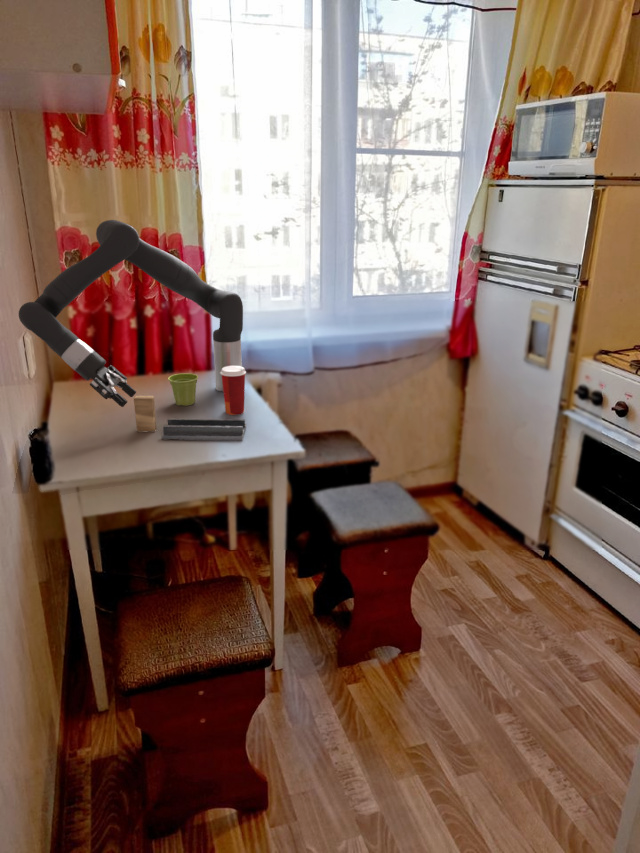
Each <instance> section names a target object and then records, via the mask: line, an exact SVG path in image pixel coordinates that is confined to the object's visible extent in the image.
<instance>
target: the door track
mask: <svg viewBox="0 0 640 853" xmlns="http://www.w3.org/2000/svg"><path fill="white" fill-rule="evenodd" d="M166 420H167V425H164V424H163V426H162V435H161V440H162V439H179V440H178V441H243V439H244V435H245V432H246V429H247V423H246V418H240V419H238V418H167V419H166ZM183 439H184V440H183Z"/></svg>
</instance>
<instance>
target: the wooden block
mask: <svg viewBox="0 0 640 853" xmlns="http://www.w3.org/2000/svg"><path fill="white" fill-rule="evenodd" d="M134 396H135V397H133V405H134V413H135V414H134V415H135V423H136V424H135V425H136V432H137V431H155V430H156V431H157V429H158V426H157V416H156V406H155V396H154V395H134ZM156 431H155V432H156Z"/></svg>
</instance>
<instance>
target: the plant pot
mask: <svg viewBox="0 0 640 853" xmlns="http://www.w3.org/2000/svg"><path fill="white" fill-rule="evenodd" d="M167 378H168V379H167V380H168V381H169V383H170V385H171V389H172V393H173V397H174V402H175V404H176V405H177V406H183V407H187V406H191V405H193V404H194V403H196V391H197V383H198V379H199V376H198V375H197V374H194V373H190V372H189V373H187V372H185V373H183V372H182V373H176V374H172V375H170V376H169V377H167Z"/></svg>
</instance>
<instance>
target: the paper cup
mask: <svg viewBox="0 0 640 853" xmlns="http://www.w3.org/2000/svg"><path fill="white" fill-rule="evenodd" d="M220 373H221V375H222V383H223V392H222V393H223V398H224V399H223V400H224V408H225V413H226V415H229V416H239V415H242V414H244V413H245V394H246V393H245V391H246V389H245V388H246V387H245V385H246V382H245V381H246V374H247V371H246V369H245V367H243V366H242V367H241V366H226V367H224V368H222V370H221V372H220ZM243 412H244V413H243Z"/></svg>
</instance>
